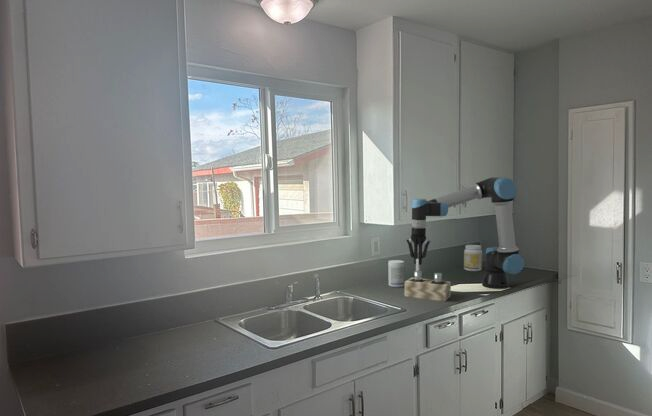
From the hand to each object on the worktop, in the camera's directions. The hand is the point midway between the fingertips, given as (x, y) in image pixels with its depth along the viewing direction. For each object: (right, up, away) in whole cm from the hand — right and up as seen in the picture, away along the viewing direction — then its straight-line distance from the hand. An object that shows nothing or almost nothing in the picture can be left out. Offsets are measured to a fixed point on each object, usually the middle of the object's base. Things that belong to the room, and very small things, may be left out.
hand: (417, 270), depth 253 cm
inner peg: (+10, -9, -5) cm, 14 cm away
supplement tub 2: (+52, -9, +71) cm, 88 cm away
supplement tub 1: (-8, -12, +22) cm, 27 cm away
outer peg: (0, -9, +1) cm, 9 cm away
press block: (+5, -14, -2) cm, 15 cm away
